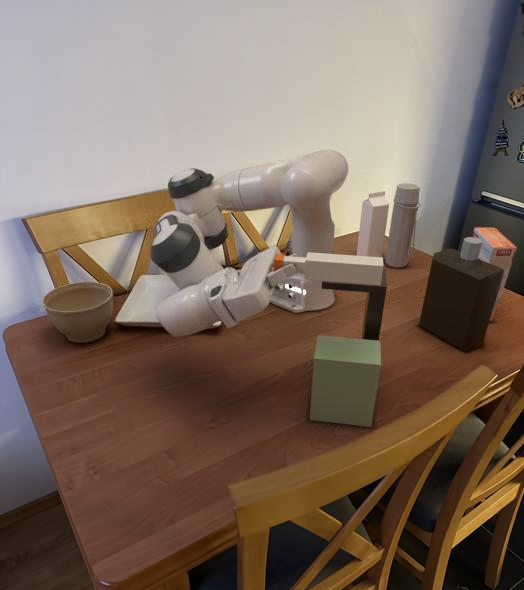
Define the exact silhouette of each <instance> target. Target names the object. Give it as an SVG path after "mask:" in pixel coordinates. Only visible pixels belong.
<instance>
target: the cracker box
mask: <svg viewBox="0 0 524 590" xmlns="http://www.w3.org/2000/svg"><path fill="white" fill-rule="evenodd" d="M471 237H474V238H478V239H481V240H482V246H481V250H480V253H479V257H478V258H479V259H480V260H482V261H485V262H487V263H490V264H492V265H495V266H497V267H500V268H502V269H504V274H503V278H502V281H501V284H500V288H499V291H498V294H497V298H496V301H495V305H494V308H493V311H492V315H491V318H490V321H489V322H494V321H495V318H496V315H497V312H498V308H499V305H500V302H501V299H502V295H503V293H504V289H505V286H506V283H507V279H508V276H509V273H510V270H511V267H512V265H513V261H514V257H515V254H516V251H517V246H515V244H514V243H512V242H511V240H509V239H508V238H507V237H506V236H505V235H503V233H501V231H499V230H498V228H496V227H474V228H473V231H472V236H471Z"/></svg>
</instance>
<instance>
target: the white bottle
mask: <svg viewBox="0 0 524 590" xmlns="http://www.w3.org/2000/svg"><path fill="white" fill-rule="evenodd" d="M284 254H285V253H281V254H276V256H275V258H274V272H275V271H277V270H279V269H281V268H282V267H284V265H286V264H288V263H290V262H293V263H294V264H295V266H296V268H297V269H296V273H299V274H305V277H304V279H306V280H318V281H331V282H344V283H356V284H369V285H381V278H382V272H383V269H384V257H383V256H382V257H368V256H357V255H353V254H352V255H351V254H339V253H338V254H336V253H334V254H325V253H311V252H308V253H307V256H306V257H292V256H284Z"/></svg>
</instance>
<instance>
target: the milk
mask: <svg viewBox="0 0 524 590" xmlns="http://www.w3.org/2000/svg"><path fill="white" fill-rule="evenodd" d="M361 203H362V204H361V210H360V211H361V213H360V222H359V230H358V240H357V248H356V256H368V257H382V258H383V253H384V252H383V251H384V245H385V237H386V230H387V224H388V217H389V210H390V203H389V201H388V199H387V198H386V191H376V192H370V193H369V194H368V198H366V199H364V200H362V201H361Z"/></svg>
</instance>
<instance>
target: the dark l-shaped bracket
mask: <svg viewBox="0 0 524 590" xmlns="http://www.w3.org/2000/svg"><path fill="white" fill-rule="evenodd" d="M322 289H330V290H333V291H346V292H357V293H366V299H365V306H364V314H363V321H362V330H361V336H360V339H365V340H376V341H380V334H381V328H382V321H383V316H384V310H385V301H386V296H387V289H388V284H387V270H386V268H383V272H382V278H381V285H369V284H356V283H344V282H331V281H322Z"/></svg>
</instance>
